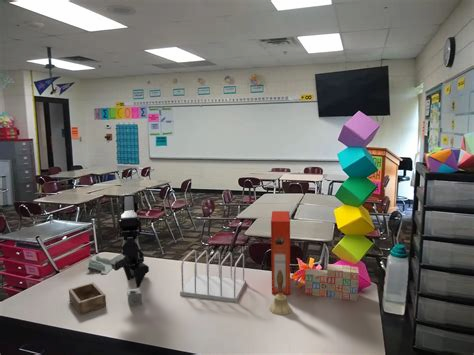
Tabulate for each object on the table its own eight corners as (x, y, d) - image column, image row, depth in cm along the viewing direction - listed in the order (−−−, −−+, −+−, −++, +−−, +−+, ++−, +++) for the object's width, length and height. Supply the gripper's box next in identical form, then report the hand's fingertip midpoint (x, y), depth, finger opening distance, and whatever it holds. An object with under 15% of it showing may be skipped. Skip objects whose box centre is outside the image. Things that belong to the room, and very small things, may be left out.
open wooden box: (94, 293, 150) (93, 282, 149) (106, 306, 138) (105, 294, 137) (69, 300, 143) (68, 289, 143) (79, 315, 132) (78, 303, 131)
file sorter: (179, 295, 146) (178, 260, 144) (194, 278, 163) (193, 246, 161) (236, 302, 140) (236, 266, 138) (246, 283, 157) (245, 250, 154)
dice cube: (129, 307, 137) (128, 295, 137) (127, 301, 142) (127, 290, 141) (142, 304, 139) (141, 292, 139) (140, 299, 144) (139, 287, 143)
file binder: (271, 294, 146) (270, 221, 141) (272, 276, 163) (272, 211, 158) (290, 295, 145) (290, 221, 140) (289, 277, 162) (289, 211, 157)
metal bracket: (81, 263, 169) (97, 252, 184) (79, 273, 170) (94, 262, 185) (109, 271, 168) (122, 259, 183) (106, 282, 169) (120, 269, 184)
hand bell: (277, 317, 128) (277, 276, 126) (265, 307, 136) (265, 268, 133) (295, 311, 132) (296, 272, 130) (283, 302, 139) (283, 264, 137)
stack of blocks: (304, 294, 145) (304, 267, 144) (305, 288, 151) (306, 261, 150) (357, 301, 139) (358, 272, 137) (357, 294, 145) (358, 266, 143)
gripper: (102, 245, 140) (105, 281, 142) (120, 258, 125) (122, 298, 128) (129, 239, 147) (131, 274, 149) (148, 251, 132) (150, 289, 135)
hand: (133, 283), depth 140 cm, fingers open, 9 cm apart
